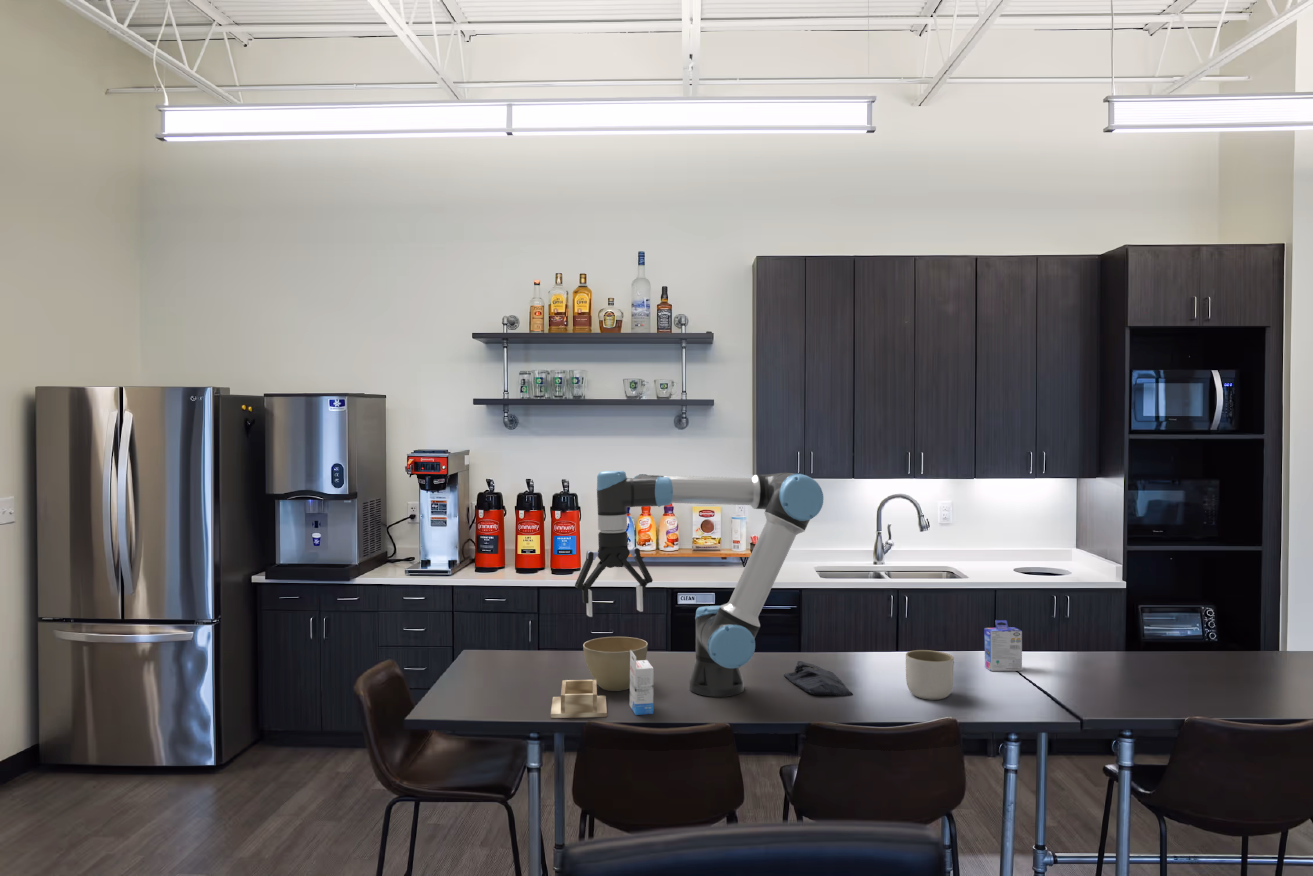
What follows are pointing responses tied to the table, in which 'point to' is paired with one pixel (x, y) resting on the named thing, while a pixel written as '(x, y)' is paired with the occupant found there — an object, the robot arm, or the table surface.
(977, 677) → the table surface
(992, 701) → the table surface
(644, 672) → the ink box
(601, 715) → the frame
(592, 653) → the flower pot
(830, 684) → the dark slate chunk
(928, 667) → the planter
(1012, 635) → the ink cartridge box
